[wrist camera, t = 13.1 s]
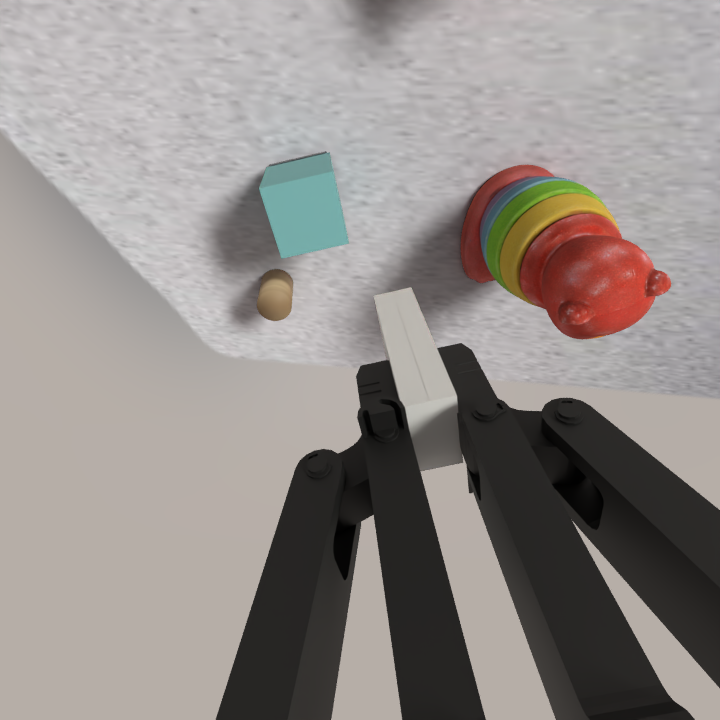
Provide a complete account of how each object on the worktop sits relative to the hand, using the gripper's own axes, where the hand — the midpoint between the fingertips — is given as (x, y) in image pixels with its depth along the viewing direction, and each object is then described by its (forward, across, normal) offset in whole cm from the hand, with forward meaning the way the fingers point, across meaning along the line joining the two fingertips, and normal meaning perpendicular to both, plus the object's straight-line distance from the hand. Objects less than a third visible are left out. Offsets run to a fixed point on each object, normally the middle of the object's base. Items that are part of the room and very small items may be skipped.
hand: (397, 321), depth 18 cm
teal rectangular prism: (+23, -4, 0) cm, 24 cm away
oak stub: (+24, -9, -8) cm, 27 cm away
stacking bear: (+25, +14, -7) cm, 29 cm away
